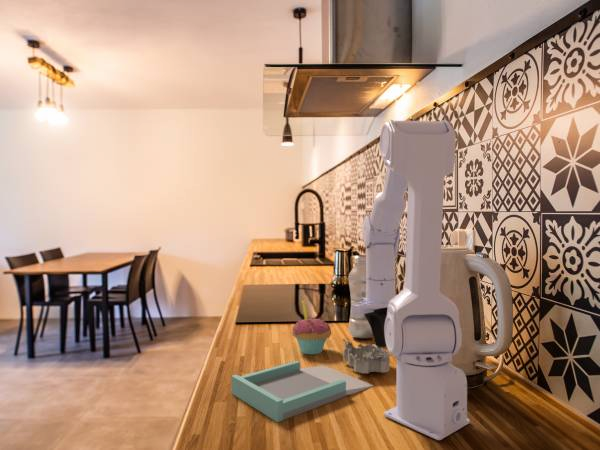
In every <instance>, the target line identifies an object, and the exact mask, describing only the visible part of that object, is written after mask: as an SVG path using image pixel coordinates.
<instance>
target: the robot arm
mask: <svg viewBox="0 0 600 450" xmlns="http://www.w3.org/2000/svg"><path fill="white" fill-rule="evenodd" d="M380 130H381V131H380V137H379V151H380V156H381V158H382V159H383V164H384V166H386V173H385V179H384V186H383V190H381V191H379V192H378V193H377V194H376V196H375V197H374V200H373V201H374V202H373V206H372V209H371V213H370V215H367V217H365V218H364V220H363V225H362V241H363V245H364V247H365V250H366V251H365V255H366V298H363V301H361V302H359V303H356V304H352V315H356V316H362V315H363V314H364V315H365V317H366V318H367V320H368V322H369V324H370V327H371V330H372V333H373V337H372V338H373V340H374V343H375V345H376V346H379V347H381V348H386V350H388V351H387V352H388V353H389V354H391V355H392V356H393V357H396V373H395V375H396V384H395V385H396V387H395V389H396V390H395V391H396V398H395V399H396V401H395V403H396V406H394V407H392V408H390V409H388V410H385V411H384V412H383V416H384V417H386V418H388V419H391V420H393V421H394V422H397V423H399V424H401V425H403V426H406V427H408V428H410V429H412V430H415V431H416V432H419V433H421V434H423V435H425V436H428V437H430V438H431V439H435V440H436V441H441V440H443V439H444V438H446V437H448V436H450V435H452V434H454V433H455V432H456V431H459V430H460V429H462V428H463V427H465V426H467V425H468V424H470V423H471V420H470V419H469V418H468V380H467V376H466V374H465V372H464V370H463V369H461V368H459V367H457V366H455V365H453V364H452V363H451V362H453V356H455V355H456V354H457V353H458V352H459V350H460V348H461V346H462V340H463V339H462V337H463V335H462V328H461V324H460V311H459V308H458V306H457V305H456V304H455V302H453V301H452V300H451V299H450V298H449V297H447V296H446V295H445V294H443V293H442V292H441V291H440V290H441V288H440V287H441V263H442V261H441V260H442V242H443V241H442V238H443V213H444V212H443V211H444V192H445V191H444V189H445V186H444V185H445V177H446V176H448V175H451V174H452V173H454V171H455V162H456V143H457V142H456V140H457V136H456V131H455V129H454V128H453V126H452V125H451V123H450V122H449V121H448V120H446V119H445V120H437V121H436V120H435V121H434V120H433V121H431V120H429V121H428V120H393V119H387V120H386V121H385V122H384V123H383V125H382V127H381V129H380ZM406 191H407V201H406V198H405V197H404V195H405V193H406ZM406 207H407V210H406ZM405 210H406V211H407V212H406V213H407V215H406V217H407V218H406V245H405V272H404V273H405V274H404V275H405V276H404V277H405V279H404V289H403V290H402V291H400V292H399V293H398V294H396V257H397V256H398V253H399V252H398V249H399V243H400V236H401V233H400V224H401V221H402V218H403V215H404V213H405Z"/></svg>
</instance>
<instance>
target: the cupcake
mask: <svg viewBox="0 0 600 450" xmlns="http://www.w3.org/2000/svg"><path fill="white" fill-rule="evenodd" d="M301 304H302V310H303V315H304V316H303V317H304V319H300V320H298V321H296V323H295V324H294V325H293V326H292V329H291V330H292V331H291V332H292V333H291V335H292V336H293V337H294V338H295V339H296V341H297V344H298V347H299V349H300V353H302V354H304V355H318V354H321V353H322V352H323V350H324V347H325V343H326V341H327V339H329V338H330V337H331V335H332V330H331V327H330V325H329V324H328V323H327V321H326V322H325V320H322V319H321V318H320V319H319V318H312V317H311V318H308V313H307V306H306V305H307V304H306V301H305V300H304V298H303V297H301Z"/></svg>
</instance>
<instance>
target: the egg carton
mask: <svg viewBox="0 0 600 450" xmlns="http://www.w3.org/2000/svg"><path fill="white" fill-rule="evenodd" d="M342 342H344V344H345V347H344V348H343V350H342V356H343V357H342V359H343V361H344V362H347V365H348V366H350V367H353V372H354V373H360V374H369V373H371V372H373V373H374V372H376V373H386V372H389V371H390V367H391V366H390V361H391V360H390V357H391V355H392V354H391V353H390V352H389V351H387V349H384V348H383V347H379V346H376V345H375V344H374V343H373V344H370V343H369V344H368V343H366V344H364V345H363V344H362V343H359V344H358V345H357V347H355V346H354V345H353V342H350V341H347V340H346V339H345V338H342Z"/></svg>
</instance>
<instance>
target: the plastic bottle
mask: <svg viewBox="0 0 600 450" xmlns="http://www.w3.org/2000/svg"><path fill="white" fill-rule="evenodd" d="M353 264H354V266H353V267H352V269H351V270H350V272H349V273H348V279H347V280H348V286H349V287H348V288H349V292H350V293H349V294H350V313H349V314H350V315H349V322H348V331H349V334H350V336H351V337H352V338H356V339H363V340H364V339H365V340H366V339H371V338H374V337H373V333H372V330H371V327H370V324H369V322H368V320H367V318H366V317H365V315H364V314H363V315H362V316H356V315H352V304H356V303H359V302H361V301H363V298H366V254H357V255H354V257H353Z"/></svg>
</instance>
